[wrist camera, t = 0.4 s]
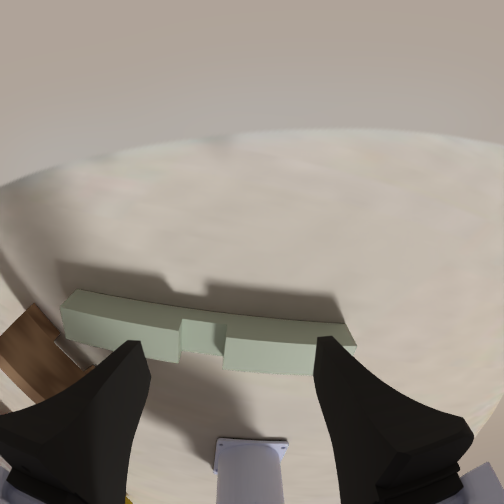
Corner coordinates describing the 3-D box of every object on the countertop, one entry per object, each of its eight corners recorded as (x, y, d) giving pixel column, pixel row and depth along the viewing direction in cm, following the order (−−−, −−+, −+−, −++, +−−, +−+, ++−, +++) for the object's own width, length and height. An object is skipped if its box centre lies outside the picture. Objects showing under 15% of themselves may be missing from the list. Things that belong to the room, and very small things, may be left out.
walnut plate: (121, 389, 25) (100, 443, 18) (110, 395, 25) (89, 446, 19) (34, 302, 21) (-8, 344, 15) (26, 312, 22) (-13, 353, 15)
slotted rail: (335, 352, 24) (344, 375, 21) (81, 319, 22) (66, 339, 19) (345, 323, 23) (357, 346, 20) (76, 288, 21) (59, 307, 18)
